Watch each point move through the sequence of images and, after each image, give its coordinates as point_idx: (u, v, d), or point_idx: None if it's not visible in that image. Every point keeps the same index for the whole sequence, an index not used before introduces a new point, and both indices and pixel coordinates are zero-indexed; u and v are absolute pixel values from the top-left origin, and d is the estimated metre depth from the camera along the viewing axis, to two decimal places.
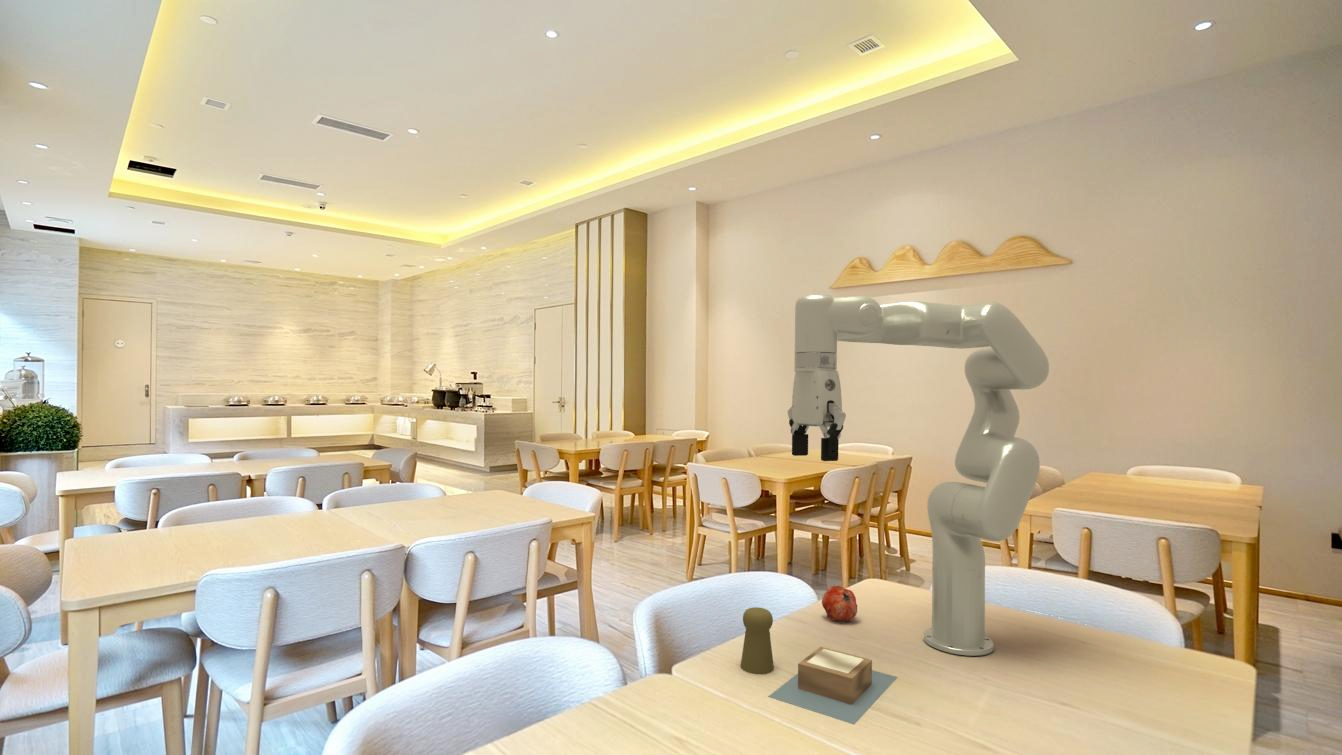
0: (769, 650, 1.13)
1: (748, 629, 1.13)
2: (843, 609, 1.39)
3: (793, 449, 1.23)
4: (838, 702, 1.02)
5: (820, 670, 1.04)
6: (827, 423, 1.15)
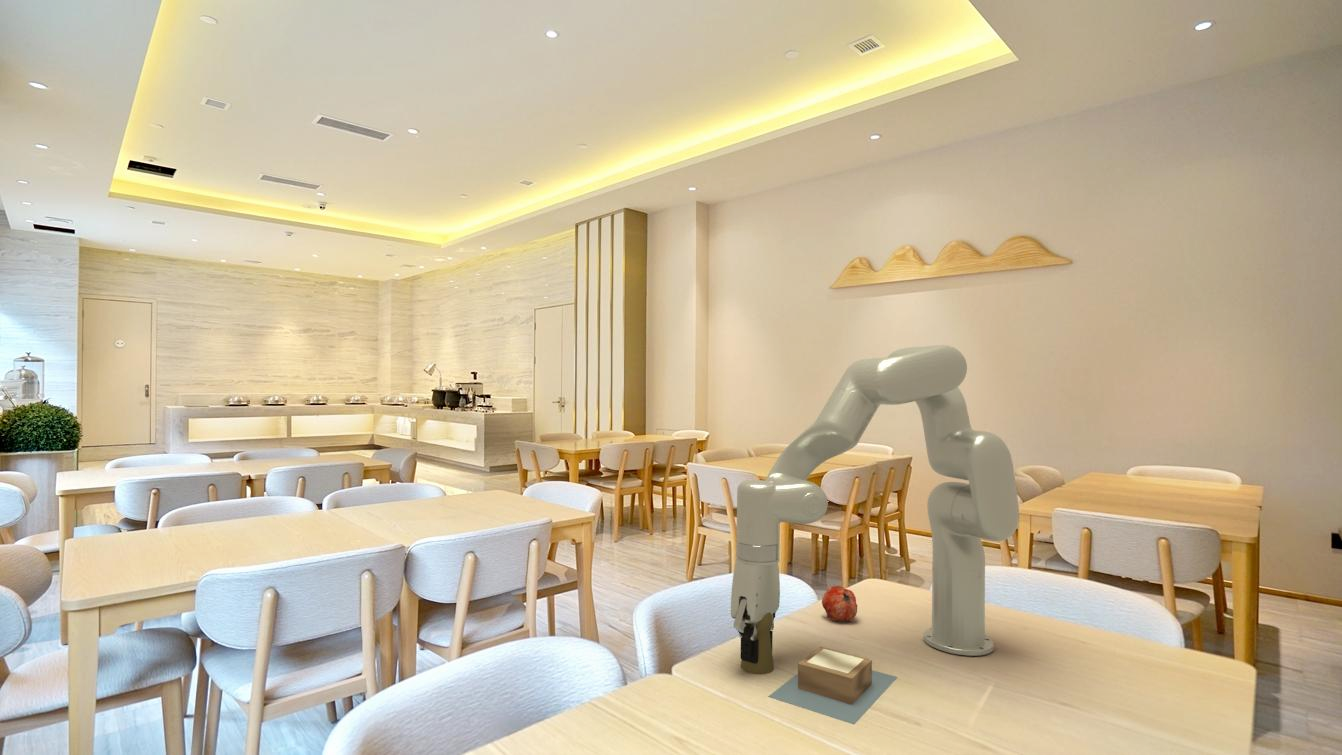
0: (769, 650, 1.13)
1: None
2: (843, 609, 1.39)
3: (757, 656, 1.12)
4: (838, 702, 1.02)
5: (820, 670, 1.04)
6: None
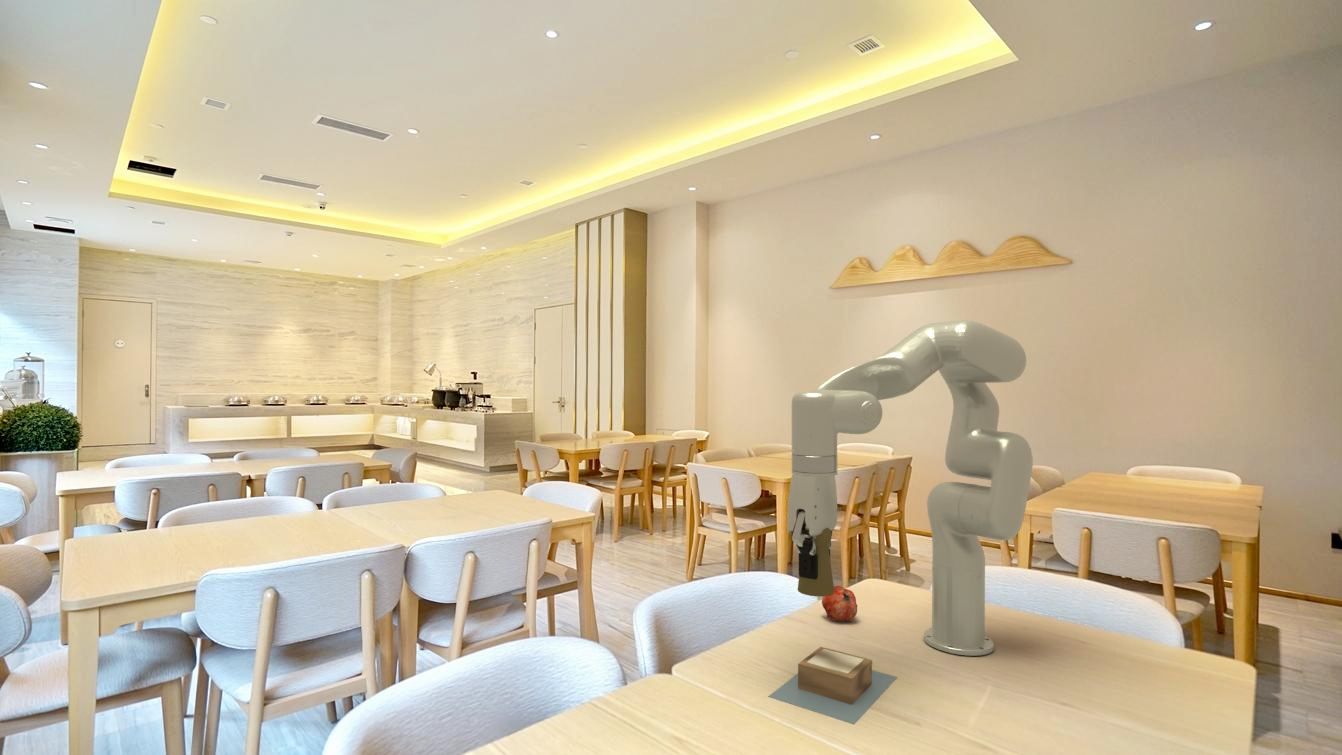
0: (828, 566, 1.08)
1: None
2: (843, 609, 1.39)
3: (817, 572, 1.07)
4: (838, 702, 1.02)
5: (820, 670, 1.04)
6: None
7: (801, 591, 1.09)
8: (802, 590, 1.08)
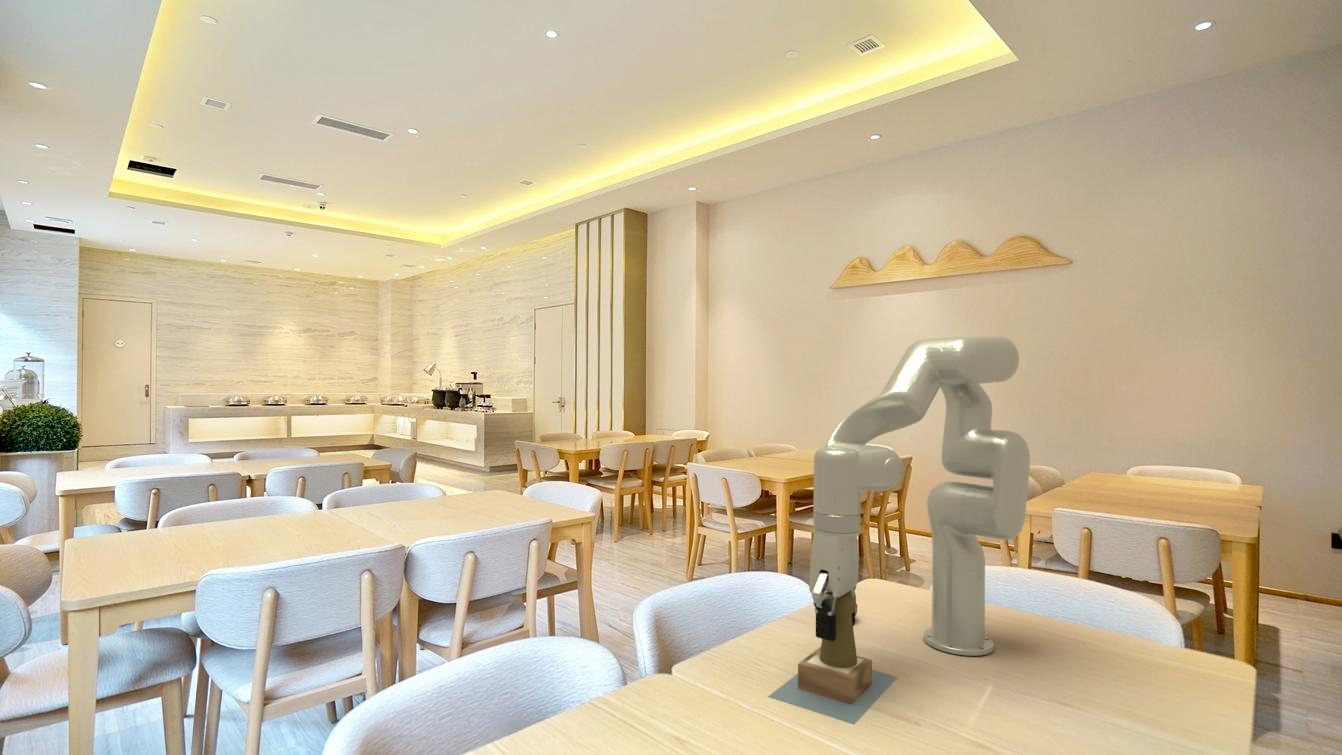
0: (852, 636, 1.06)
1: None
2: None
3: (835, 633, 1.04)
4: (838, 702, 1.02)
5: (820, 670, 1.04)
6: None
7: (824, 661, 1.06)
8: (825, 660, 1.06)
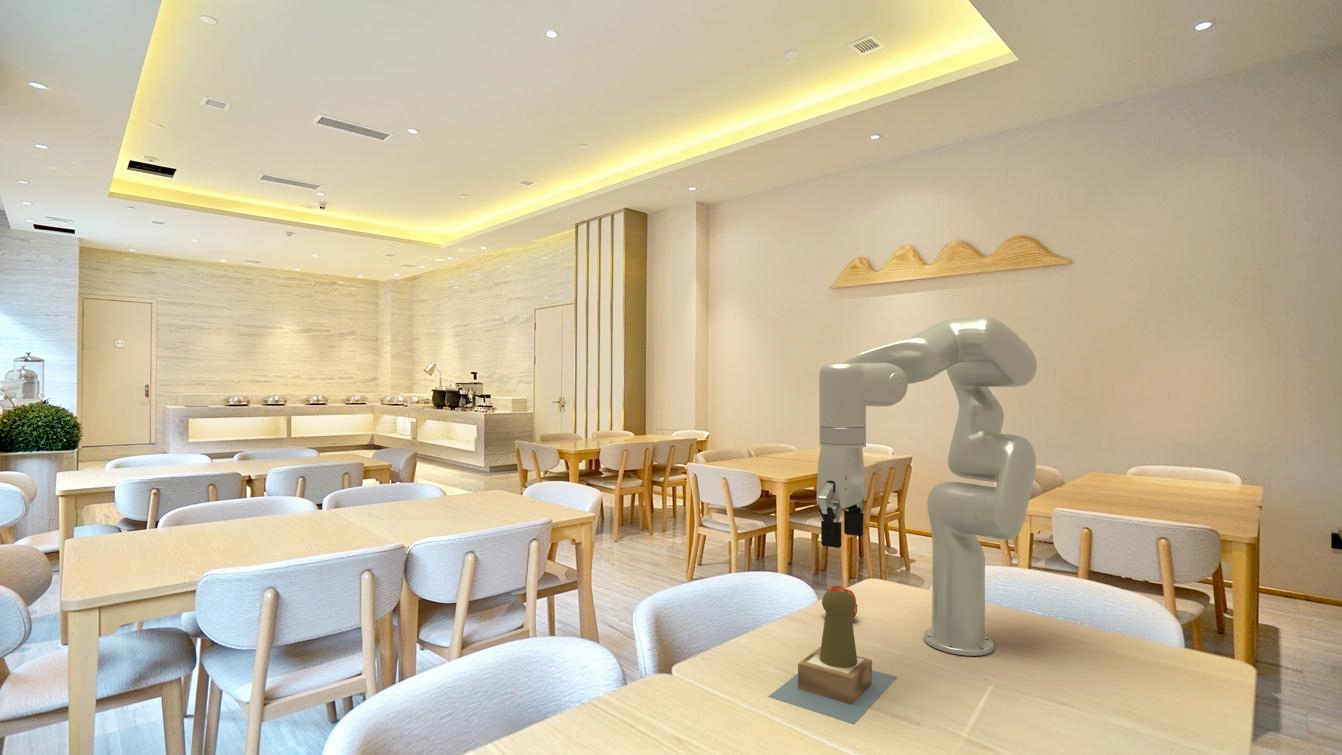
0: (852, 636, 1.06)
1: (829, 613, 1.07)
2: None
3: (841, 540, 1.04)
4: (838, 702, 1.02)
5: (820, 670, 1.04)
6: None
7: (824, 661, 1.06)
8: (825, 660, 1.06)
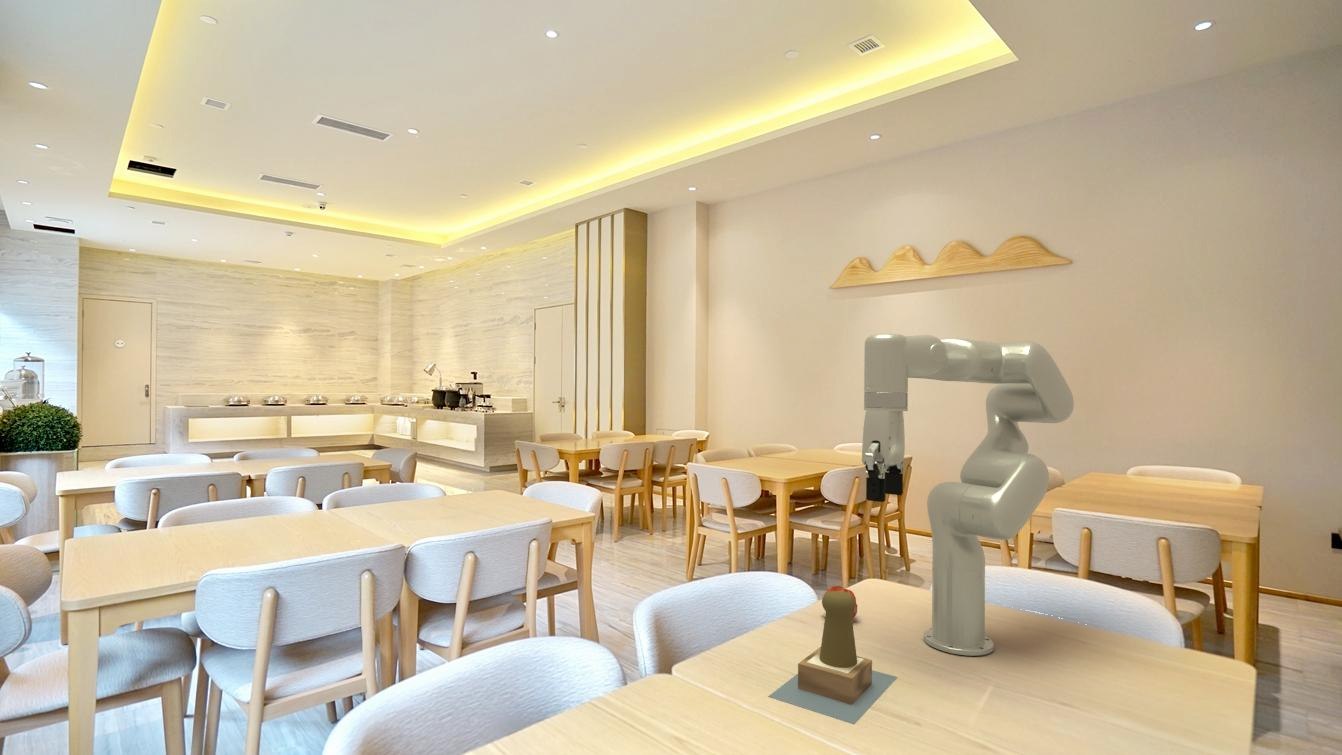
0: (852, 636, 1.06)
1: (829, 613, 1.07)
2: None
3: None
4: (838, 702, 1.02)
5: (820, 670, 1.04)
6: None
7: (824, 661, 1.06)
8: (825, 660, 1.06)
